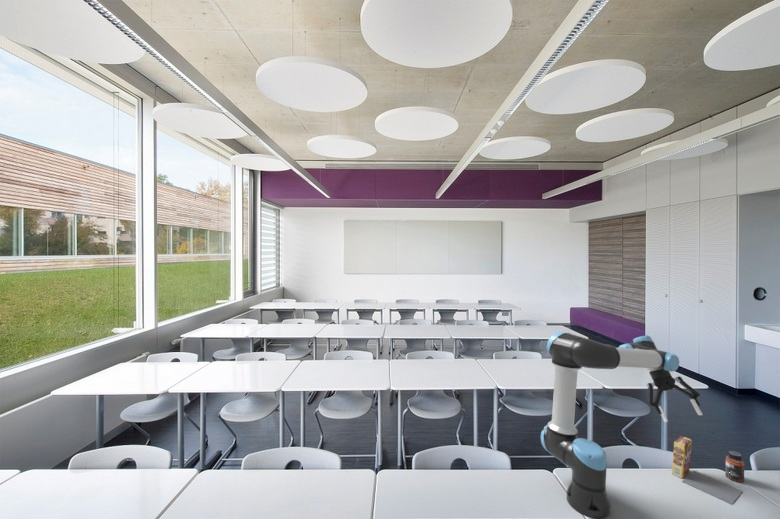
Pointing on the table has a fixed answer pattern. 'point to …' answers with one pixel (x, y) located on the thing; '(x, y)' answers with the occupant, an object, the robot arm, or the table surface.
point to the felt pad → (712, 487)
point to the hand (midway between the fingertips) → (683, 418)
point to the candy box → (681, 456)
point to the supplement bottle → (734, 467)
